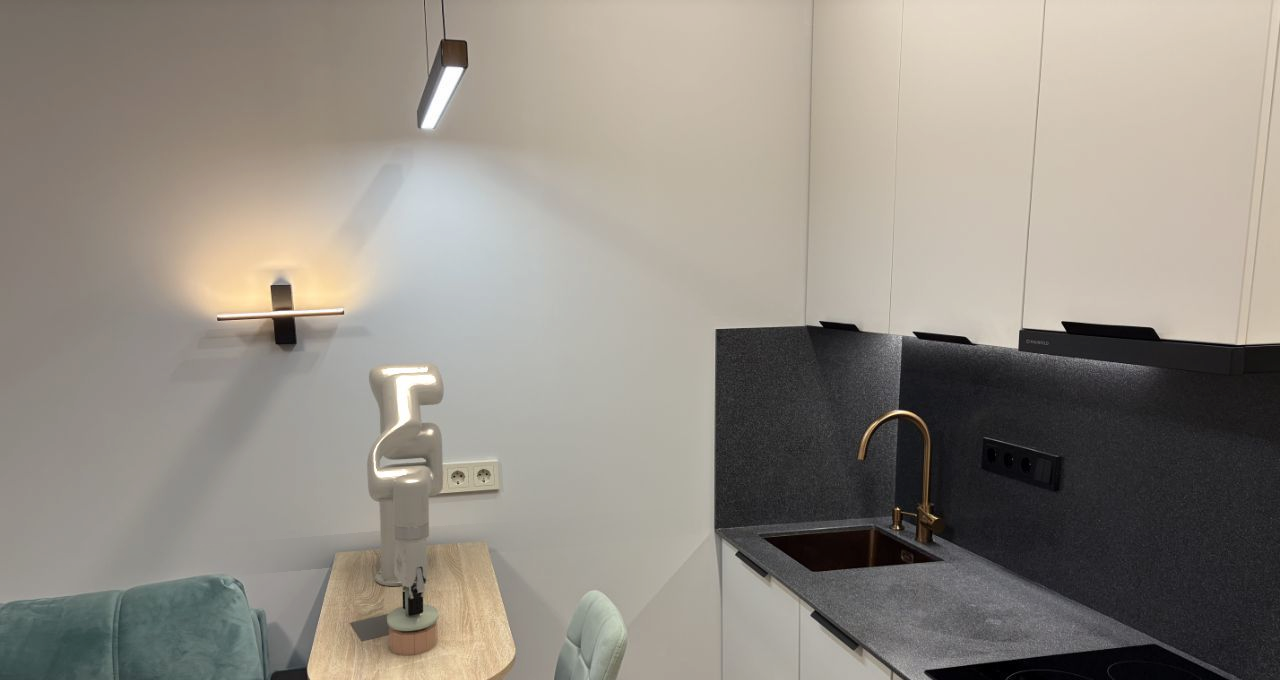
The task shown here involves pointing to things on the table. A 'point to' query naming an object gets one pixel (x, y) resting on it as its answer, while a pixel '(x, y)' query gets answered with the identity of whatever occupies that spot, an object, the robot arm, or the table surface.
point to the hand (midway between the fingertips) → (412, 610)
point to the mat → (371, 627)
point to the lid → (411, 617)
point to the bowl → (413, 640)
